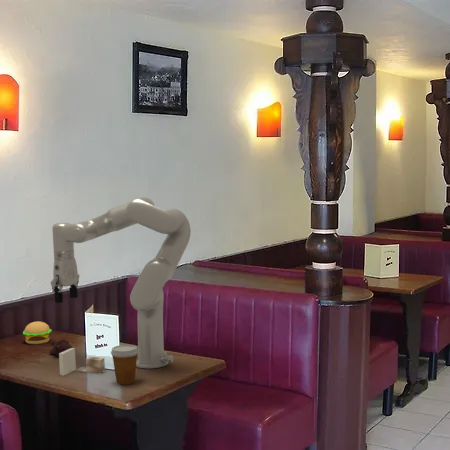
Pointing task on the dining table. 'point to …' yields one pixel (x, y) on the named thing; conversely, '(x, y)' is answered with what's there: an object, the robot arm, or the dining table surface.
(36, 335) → the hamburger
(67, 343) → the icecream
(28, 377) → the dining table surface
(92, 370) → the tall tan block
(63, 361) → the tile
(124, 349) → the disposable coffee cup
